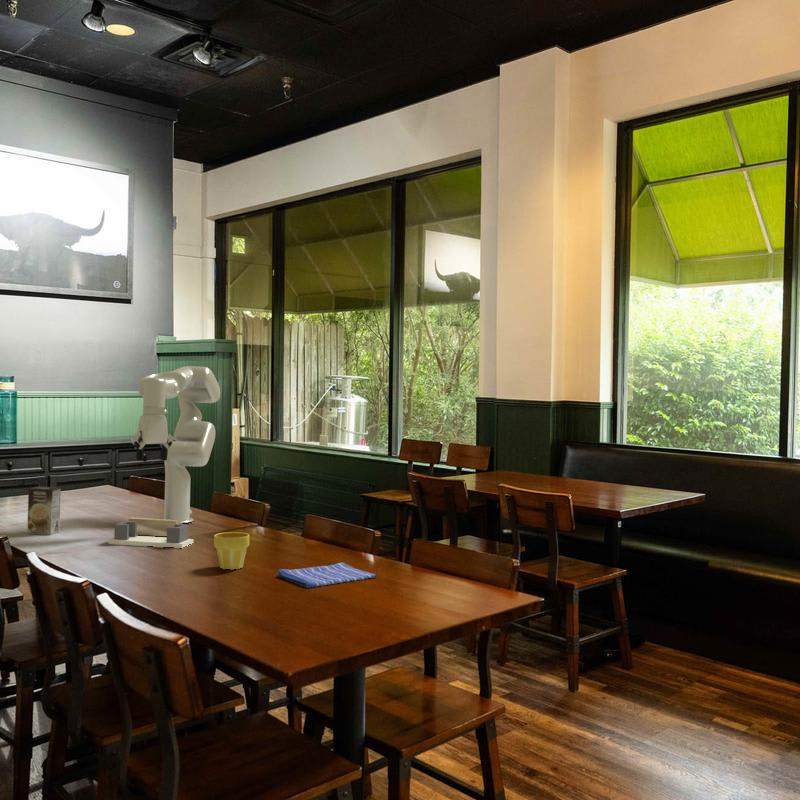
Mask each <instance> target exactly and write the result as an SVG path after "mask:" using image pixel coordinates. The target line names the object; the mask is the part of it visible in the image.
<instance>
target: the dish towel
mask: <svg viewBox="0 0 800 800" xmlns="http://www.w3.org/2000/svg"><path fill="white" fill-rule="evenodd" d="M276 573H277V576H278V577H279V578H281V577H282V578H281V579H283V578H284V580H286V581H288V582H291V583H293V582H294V584H296V585H298V584H299V586H301V587H303V586H304V587H303V588H305V587H306V588H305V589H311V587H312V588H319V587H318V586H321V587H326V586H325V585H328V586H331V585H330V584H334V585H338V584H337V583H341V584H344V583H343V582H347V583H351V582H350V581H354V582H358V581H357V580H360V581H365V580H364V579H366V580H369V579H368V578H371V579H373V578H374V579H375V578H376V577H377V574H376V573H373V572H372V573H371V572H368V571H365V570H362V569H359V568H355V567H353V566H351V565H349V564H346V562H339V563H335V564H329V565H321V566H312V567H305V568H297V569H296V568H295V569H287V568H286V569H285V568H283V569H282V568H279V570H278V571H276Z"/></svg>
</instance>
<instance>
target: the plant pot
mask: <svg viewBox="0 0 800 800" xmlns="http://www.w3.org/2000/svg"><path fill="white" fill-rule="evenodd" d="M213 546H214V548H216V553H217V560H218V564H219V568H220V569H221V568H222V570H225V569H230V570H229V571H233V570H234V569H236V570H241V569H242V568H243V567H244V562H245V558H246V554H247V549H248V547H249V546H250V534H249V533H246V532H238V531H237V532H236V531H235V532H233V531H229V532H219V533H216V534H214V535H213ZM240 568H241V569H240ZM234 571H235V570H234Z"/></svg>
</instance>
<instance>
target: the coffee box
mask: <svg viewBox="0 0 800 800" xmlns="http://www.w3.org/2000/svg"><path fill="white" fill-rule="evenodd" d="M61 491H62V488H61V487H54V486H40V485H38V486H35V487H29V488H28V494H27V495H28V497H27V498H28V499H27V501H28V502H27V526H26V527H27V529H26V534H29V535H30V534H31V535H45V536H47V535H48V536H52V535H54V534H57V533H60V523H61V493H62V492H61Z"/></svg>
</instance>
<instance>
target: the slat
mask: <svg viewBox="0 0 800 800" xmlns="http://www.w3.org/2000/svg"><path fill="white" fill-rule="evenodd" d="M127 521H131V522H137V536H138V535H150V536H149V537H155V536H167V527H174V525H175V524H179V520H168V519H162V518H149V517H148V518H147V517H129V518H128V520H127ZM151 535H153V536H151Z"/></svg>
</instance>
